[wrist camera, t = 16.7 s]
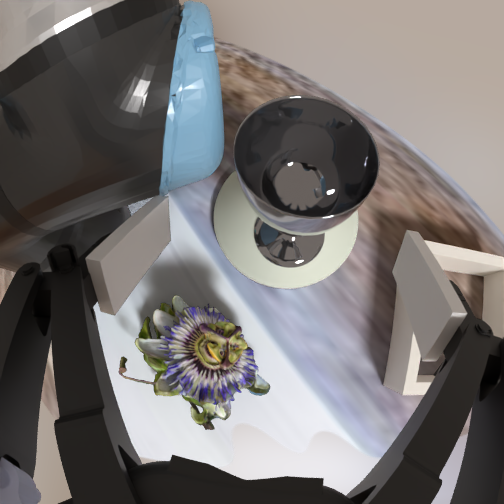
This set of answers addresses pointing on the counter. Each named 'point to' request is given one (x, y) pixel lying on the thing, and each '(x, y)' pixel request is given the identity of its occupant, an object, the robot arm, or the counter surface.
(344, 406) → the counter surface
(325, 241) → the plate
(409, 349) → the holder
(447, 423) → the robot arm
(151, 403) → the counter surface
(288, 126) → the wine glass
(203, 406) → the passion flower
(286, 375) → the counter surface
